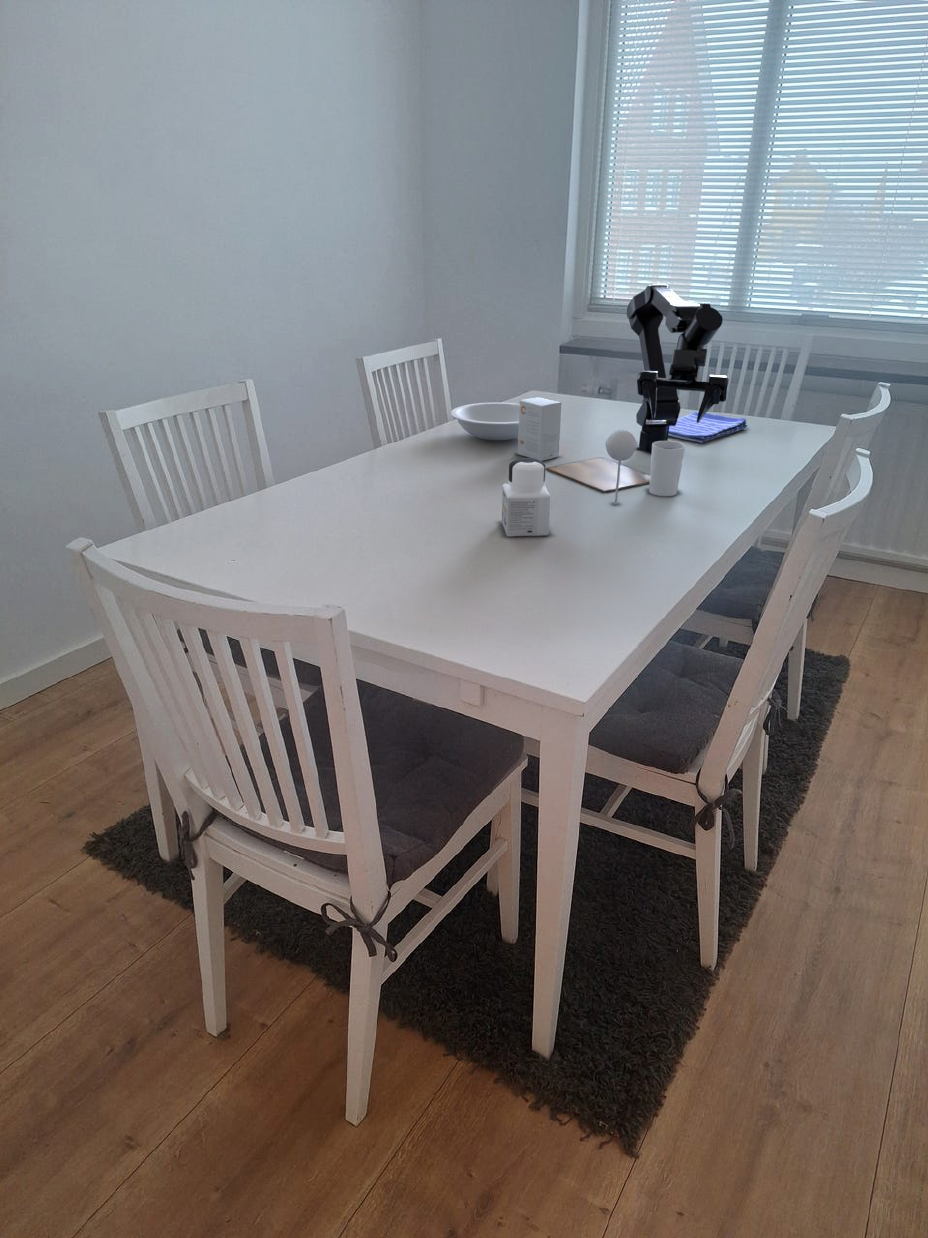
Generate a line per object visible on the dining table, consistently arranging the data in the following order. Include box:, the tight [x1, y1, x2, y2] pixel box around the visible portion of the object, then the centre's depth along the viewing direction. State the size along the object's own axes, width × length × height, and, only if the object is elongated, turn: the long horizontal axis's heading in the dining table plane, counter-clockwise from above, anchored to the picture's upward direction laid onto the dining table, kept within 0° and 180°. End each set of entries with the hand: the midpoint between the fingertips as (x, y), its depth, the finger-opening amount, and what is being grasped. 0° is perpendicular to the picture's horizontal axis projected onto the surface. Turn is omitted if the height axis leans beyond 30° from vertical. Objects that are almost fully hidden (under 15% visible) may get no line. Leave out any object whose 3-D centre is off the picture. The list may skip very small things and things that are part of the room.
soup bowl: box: [450, 402, 520, 441], centre depth 209 cm, size 24×24×7 cm
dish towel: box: [668, 411, 748, 444], centre depth 218 cm, size 17×24×3 cm
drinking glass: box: [648, 440, 686, 497], centre depth 169 cm, size 7×7×10 cm
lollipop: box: [604, 429, 638, 506], centre depth 160 cm, size 6×6×15 cm
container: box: [501, 457, 552, 537], centre depth 148 cm, size 8×8×13 cm
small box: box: [517, 396, 562, 462], centre depth 193 cm, size 8×6×13 cm
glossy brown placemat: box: [546, 457, 650, 494], centre depth 182 cm, size 16×20×1 cm
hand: (675, 419), depth 171 cm, fingers open, 9 cm apart
